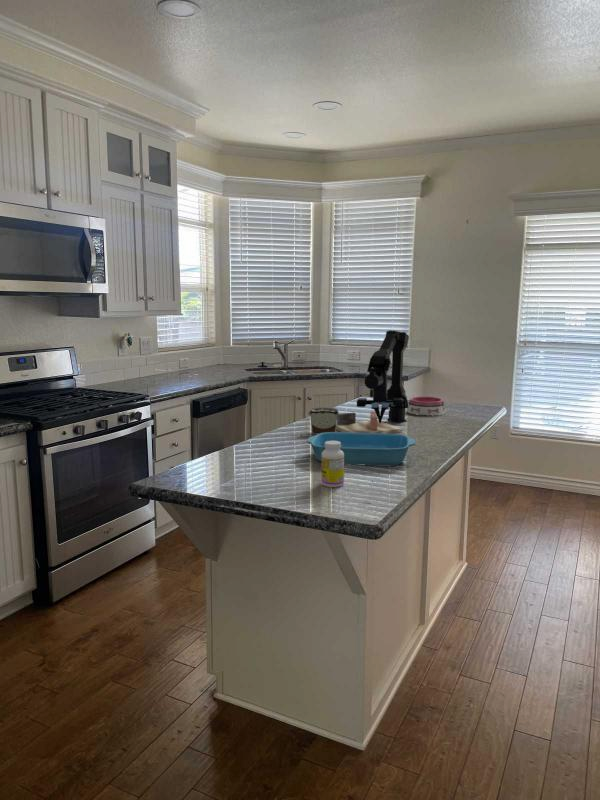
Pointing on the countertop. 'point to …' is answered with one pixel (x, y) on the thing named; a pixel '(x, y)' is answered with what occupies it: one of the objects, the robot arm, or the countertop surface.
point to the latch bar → (373, 420)
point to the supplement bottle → (332, 465)
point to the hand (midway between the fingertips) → (380, 423)
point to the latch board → (362, 425)
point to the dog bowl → (426, 406)
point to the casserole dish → (365, 447)
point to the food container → (323, 420)
